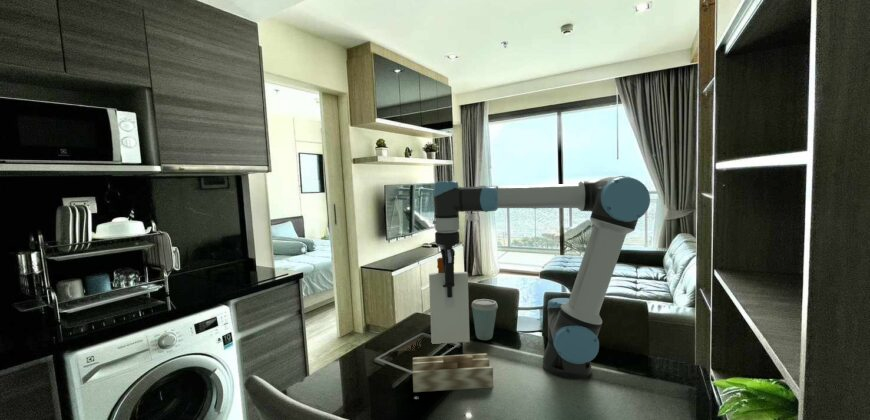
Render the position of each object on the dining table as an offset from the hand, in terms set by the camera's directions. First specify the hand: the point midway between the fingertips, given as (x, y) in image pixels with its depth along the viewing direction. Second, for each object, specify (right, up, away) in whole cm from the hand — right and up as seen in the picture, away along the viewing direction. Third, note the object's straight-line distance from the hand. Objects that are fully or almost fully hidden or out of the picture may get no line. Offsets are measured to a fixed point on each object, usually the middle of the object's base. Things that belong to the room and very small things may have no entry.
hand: (449, 305), depth 113 cm
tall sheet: (0, -12, +1) cm, 12 cm away
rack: (+1, -24, -1) cm, 24 cm away
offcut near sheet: (+3, -23, -1) cm, 24 cm away
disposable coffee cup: (+16, -22, +33) cm, 42 cm away
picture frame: (-9, -24, +21) cm, 33 cm away
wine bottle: (-1, -21, +47) cm, 51 cm away
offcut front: (-1, -24, -4) cm, 24 cm away
